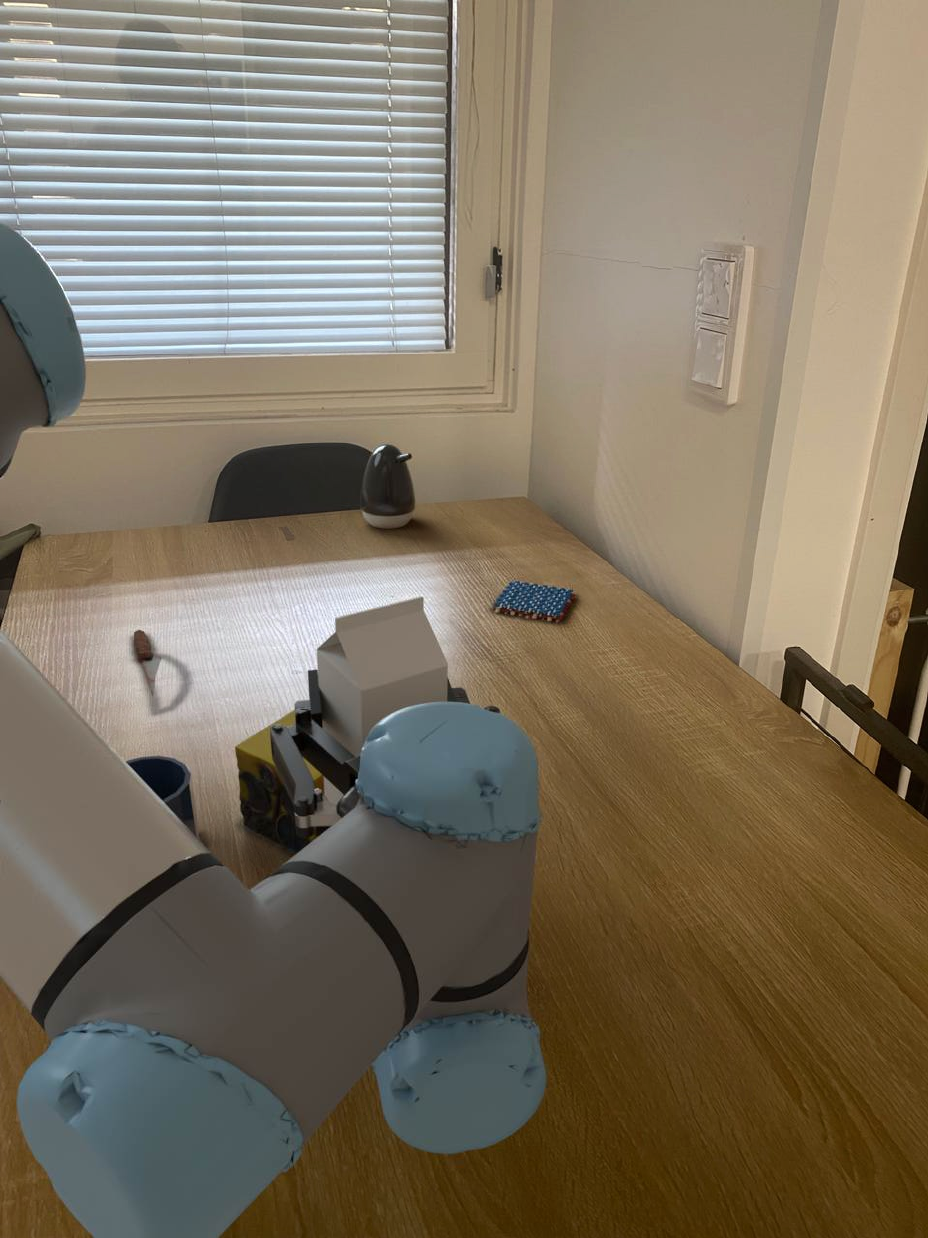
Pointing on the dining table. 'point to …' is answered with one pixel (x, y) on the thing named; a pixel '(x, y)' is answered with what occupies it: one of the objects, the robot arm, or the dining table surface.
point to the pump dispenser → (387, 489)
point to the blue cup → (170, 785)
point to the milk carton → (377, 672)
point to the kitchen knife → (146, 657)
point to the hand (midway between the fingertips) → (375, 680)
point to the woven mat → (534, 601)
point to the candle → (270, 791)
